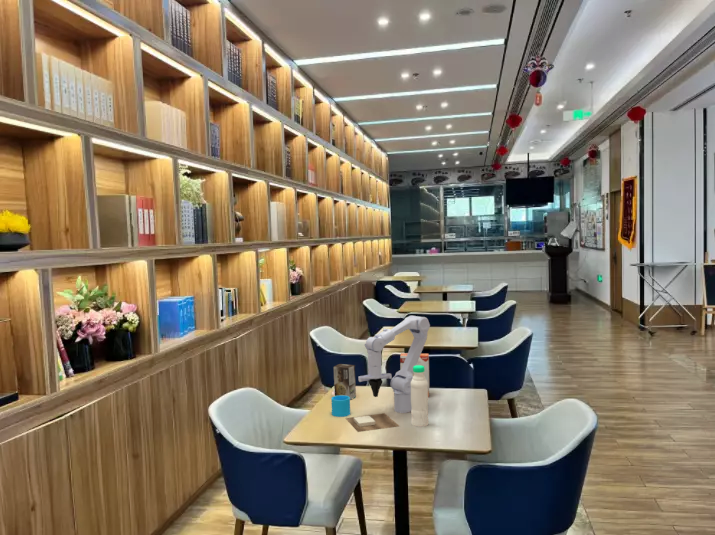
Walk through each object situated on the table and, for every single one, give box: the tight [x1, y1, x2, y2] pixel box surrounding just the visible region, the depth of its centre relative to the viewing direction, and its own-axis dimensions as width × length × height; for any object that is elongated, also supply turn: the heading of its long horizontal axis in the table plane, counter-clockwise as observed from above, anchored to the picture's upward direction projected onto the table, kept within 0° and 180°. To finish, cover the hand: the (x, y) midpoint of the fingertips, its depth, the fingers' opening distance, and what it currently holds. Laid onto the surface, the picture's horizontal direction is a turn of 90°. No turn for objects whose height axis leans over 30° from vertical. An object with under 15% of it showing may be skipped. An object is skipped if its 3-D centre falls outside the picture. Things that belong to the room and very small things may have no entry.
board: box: [345, 412, 400, 433], centre depth 220 cm, size 18×18×1 cm
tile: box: [353, 415, 375, 427], centre depth 219 cm, size 2×8×7 cm
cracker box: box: [399, 352, 430, 398], centre depth 260 cm, size 14×6×21 cm, turn 81°
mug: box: [330, 395, 351, 418], centre depth 234 cm, size 12×8×8 cm
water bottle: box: [410, 365, 430, 427], centre depth 216 cm, size 7×7×25 cm
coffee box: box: [333, 363, 357, 401], centre depth 260 cm, size 9×6×16 cm
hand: (375, 396), depth 226 cm, fingers closed
